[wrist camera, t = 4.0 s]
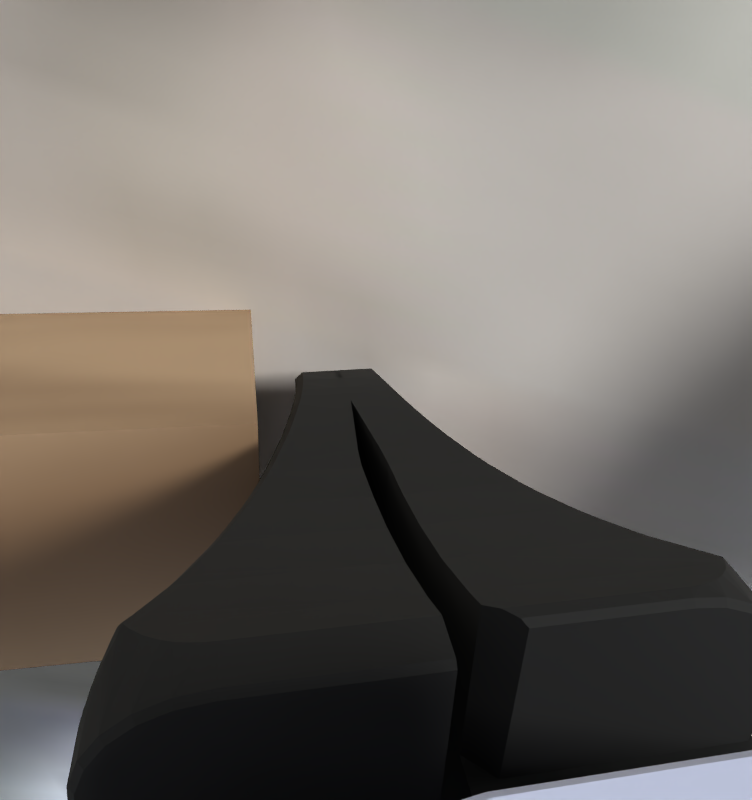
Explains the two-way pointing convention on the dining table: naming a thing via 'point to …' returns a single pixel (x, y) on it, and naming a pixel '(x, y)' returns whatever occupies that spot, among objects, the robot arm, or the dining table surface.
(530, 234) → the dining table surface
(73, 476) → the tan block
